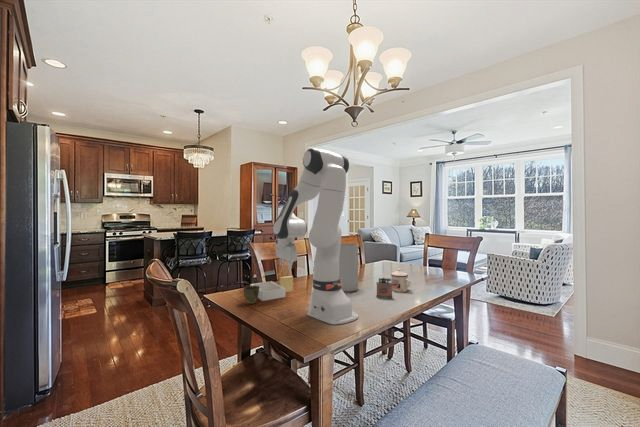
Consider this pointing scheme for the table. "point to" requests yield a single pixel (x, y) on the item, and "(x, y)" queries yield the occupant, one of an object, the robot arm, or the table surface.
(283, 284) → the panel
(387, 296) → the lighter
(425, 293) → the table surface
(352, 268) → the cylinder vase
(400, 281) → the teacup with lid
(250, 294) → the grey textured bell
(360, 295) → the table surface
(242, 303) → the table surface
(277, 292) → the rack
